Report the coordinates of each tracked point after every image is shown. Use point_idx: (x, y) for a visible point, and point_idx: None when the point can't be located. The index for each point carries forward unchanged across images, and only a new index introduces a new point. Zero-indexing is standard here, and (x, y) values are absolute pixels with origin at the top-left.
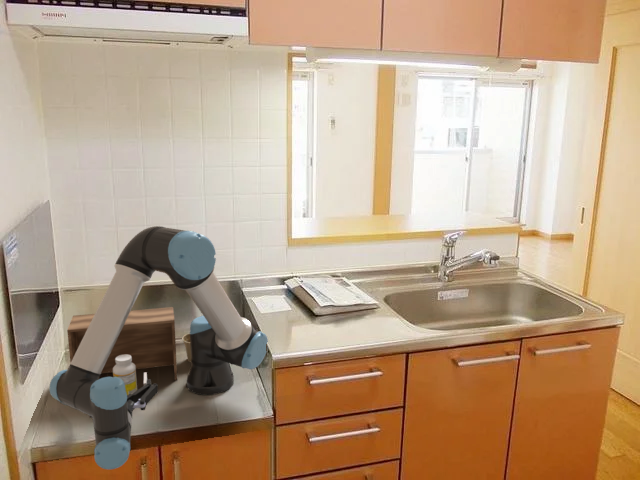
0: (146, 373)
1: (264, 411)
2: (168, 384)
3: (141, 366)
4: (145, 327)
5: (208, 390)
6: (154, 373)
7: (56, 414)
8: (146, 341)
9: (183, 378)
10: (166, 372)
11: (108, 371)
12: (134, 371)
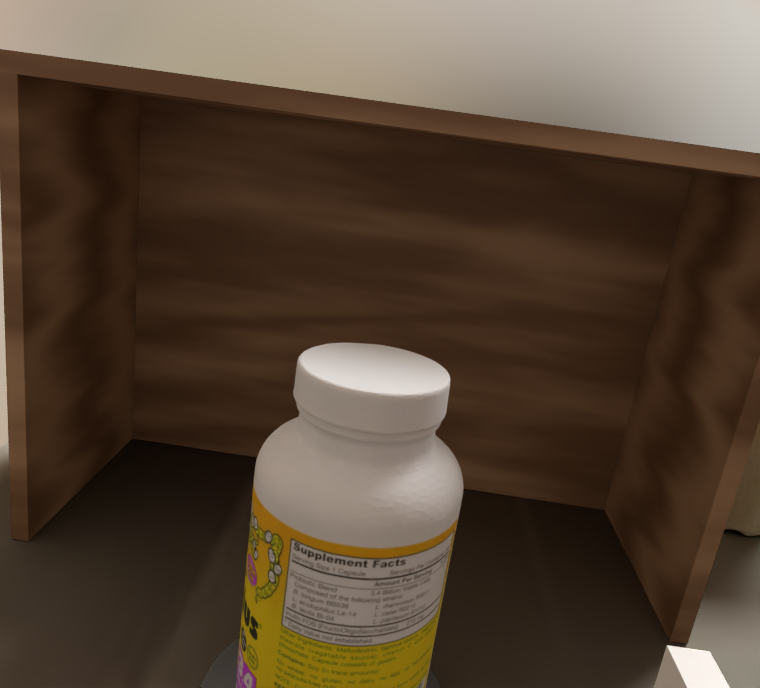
0: (726, 686)
1: None
2: (638, 671)
3: None
4: (513, 251)
5: None
6: (510, 537)
7: None
8: (496, 338)
9: (725, 642)
10: (582, 551)
11: None
12: (451, 531)
